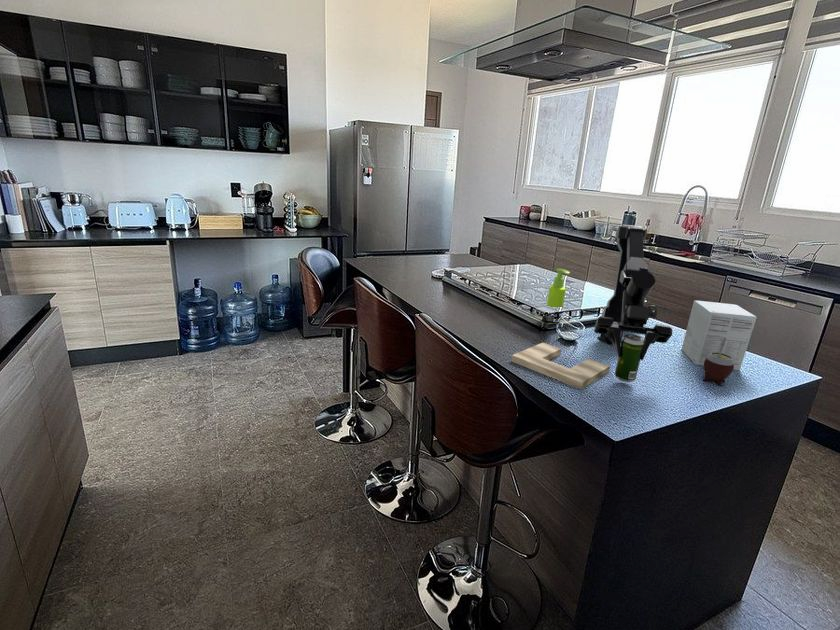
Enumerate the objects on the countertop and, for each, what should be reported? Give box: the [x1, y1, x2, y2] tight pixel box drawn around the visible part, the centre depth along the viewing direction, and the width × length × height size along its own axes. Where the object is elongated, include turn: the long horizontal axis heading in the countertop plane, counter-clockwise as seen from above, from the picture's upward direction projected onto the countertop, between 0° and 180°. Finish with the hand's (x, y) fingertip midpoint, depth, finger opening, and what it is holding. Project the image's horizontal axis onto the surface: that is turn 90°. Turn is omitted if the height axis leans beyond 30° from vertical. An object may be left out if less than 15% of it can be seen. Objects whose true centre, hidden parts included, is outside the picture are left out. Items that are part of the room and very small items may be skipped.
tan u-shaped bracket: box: [511, 342, 611, 390], centre depth 134 cm, size 17×22×2 cm
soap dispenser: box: [546, 268, 571, 308], centre depth 171 cm, size 6×7×20 cm
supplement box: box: [680, 300, 758, 371], centre depth 144 cm, size 13×13×18 cm
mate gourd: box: [702, 338, 734, 387], centre depth 129 cm, size 8×8×15 cm
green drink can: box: [614, 333, 645, 383], centre depth 124 cm, size 5×5×12 cm
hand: (630, 358), depth 122 cm, fingers closed on green drink can, 5 cm apart
